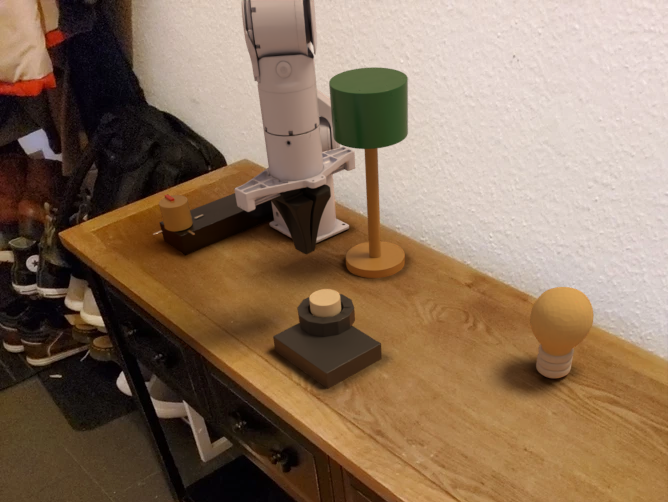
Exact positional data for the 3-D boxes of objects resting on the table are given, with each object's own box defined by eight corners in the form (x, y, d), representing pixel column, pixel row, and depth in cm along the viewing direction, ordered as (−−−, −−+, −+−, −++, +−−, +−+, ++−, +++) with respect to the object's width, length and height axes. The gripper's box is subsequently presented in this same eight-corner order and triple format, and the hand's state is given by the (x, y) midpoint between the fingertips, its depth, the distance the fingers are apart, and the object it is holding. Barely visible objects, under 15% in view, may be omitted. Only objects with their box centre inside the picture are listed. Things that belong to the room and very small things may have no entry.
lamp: (329, 263, 101) (313, 81, 85) (378, 240, 105) (372, 62, 89) (372, 288, 96) (364, 99, 80) (422, 263, 100) (424, 78, 84)
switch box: (268, 347, 88) (264, 318, 85) (332, 315, 92) (329, 286, 89) (328, 389, 82) (324, 359, 79) (393, 352, 86) (392, 323, 83)
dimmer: (173, 265, 103) (168, 244, 101) (144, 245, 108) (138, 224, 106) (285, 218, 112) (283, 197, 109) (254, 201, 116) (251, 181, 114)
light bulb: (582, 391, 79) (599, 311, 72) (521, 386, 80) (532, 306, 73) (582, 356, 84) (597, 277, 77) (524, 352, 85) (535, 273, 78)
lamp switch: (304, 310, 87) (302, 297, 85) (328, 298, 88) (327, 285, 87) (323, 322, 85) (322, 309, 83) (347, 310, 86) (346, 297, 85)
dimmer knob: (197, 225, 105) (192, 199, 102) (172, 234, 103) (166, 208, 100) (184, 215, 107) (178, 190, 104) (159, 224, 105) (153, 198, 103)
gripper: (255, 158, 69) (274, 286, 79) (371, 114, 76) (376, 238, 85) (214, 138, 73) (237, 263, 83) (328, 98, 79) (337, 219, 89)
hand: (305, 249), depth 84 cm, fingers closed
